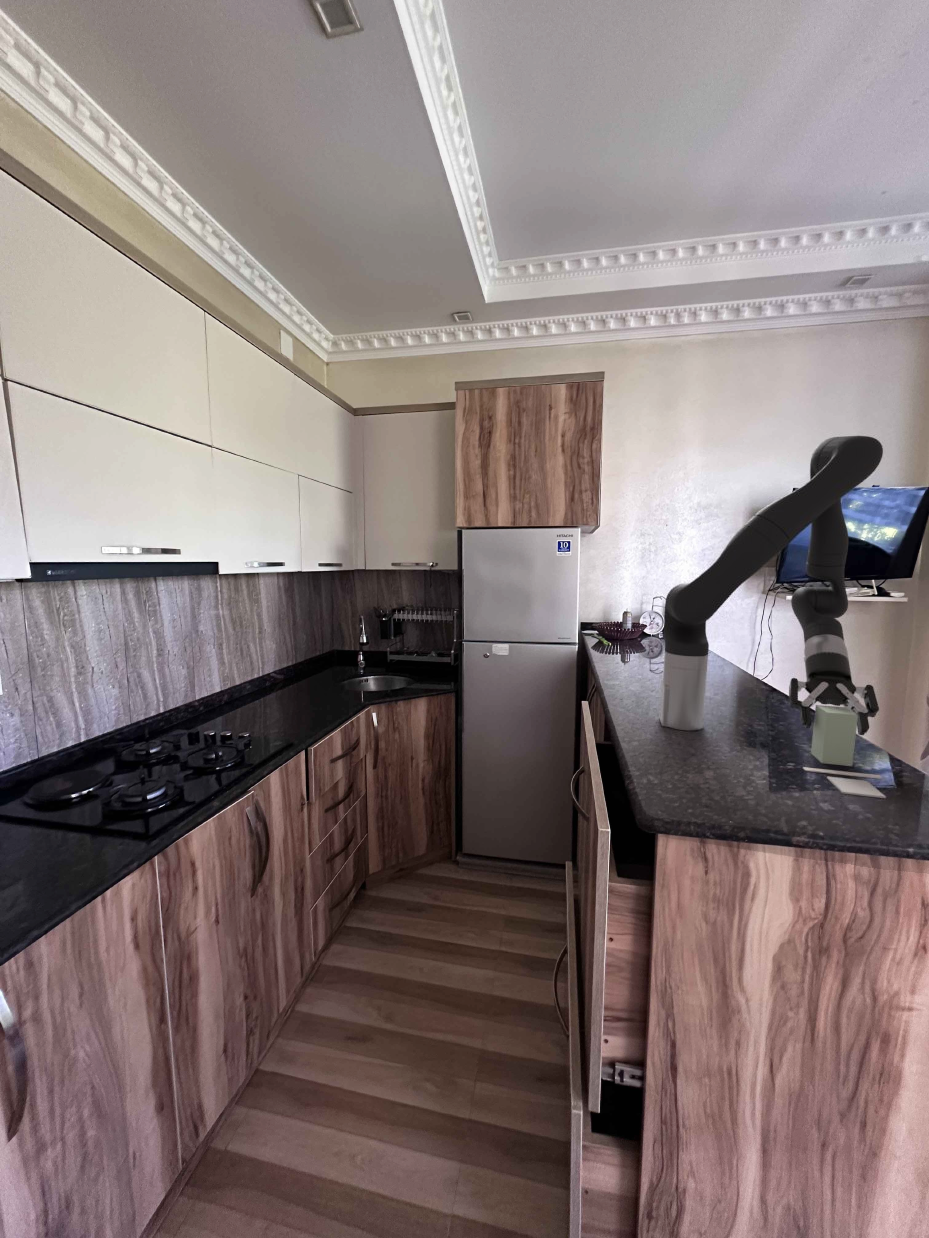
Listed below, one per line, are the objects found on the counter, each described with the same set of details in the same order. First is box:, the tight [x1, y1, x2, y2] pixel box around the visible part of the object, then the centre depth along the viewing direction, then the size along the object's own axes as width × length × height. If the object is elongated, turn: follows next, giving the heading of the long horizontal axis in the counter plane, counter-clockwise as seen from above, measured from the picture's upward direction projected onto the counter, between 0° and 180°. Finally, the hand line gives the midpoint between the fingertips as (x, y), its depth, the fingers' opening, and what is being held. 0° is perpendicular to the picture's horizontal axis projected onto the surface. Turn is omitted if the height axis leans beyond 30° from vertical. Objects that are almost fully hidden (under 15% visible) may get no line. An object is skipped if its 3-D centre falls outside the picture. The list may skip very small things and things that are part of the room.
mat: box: [826, 776, 887, 799], centre depth 83 cm, size 6×6×1 cm
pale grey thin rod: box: [802, 766, 884, 780], centre depth 89 cm, size 12×1×1 cm, turn 74°
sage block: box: [810, 704, 858, 767], centre depth 95 cm, size 5×5×10 cm
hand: (835, 729), depth 95 cm, fingers open, 8 cm apart
